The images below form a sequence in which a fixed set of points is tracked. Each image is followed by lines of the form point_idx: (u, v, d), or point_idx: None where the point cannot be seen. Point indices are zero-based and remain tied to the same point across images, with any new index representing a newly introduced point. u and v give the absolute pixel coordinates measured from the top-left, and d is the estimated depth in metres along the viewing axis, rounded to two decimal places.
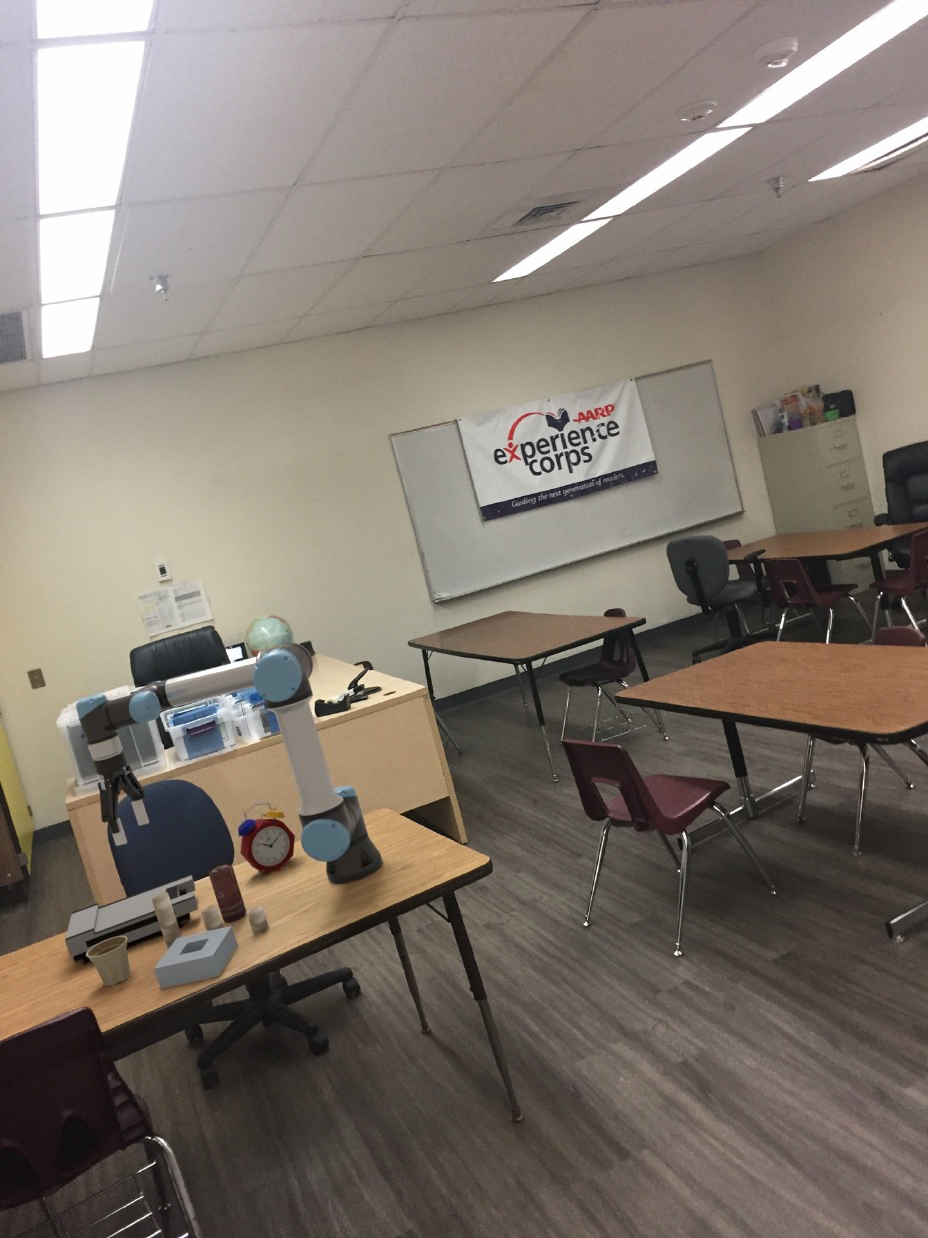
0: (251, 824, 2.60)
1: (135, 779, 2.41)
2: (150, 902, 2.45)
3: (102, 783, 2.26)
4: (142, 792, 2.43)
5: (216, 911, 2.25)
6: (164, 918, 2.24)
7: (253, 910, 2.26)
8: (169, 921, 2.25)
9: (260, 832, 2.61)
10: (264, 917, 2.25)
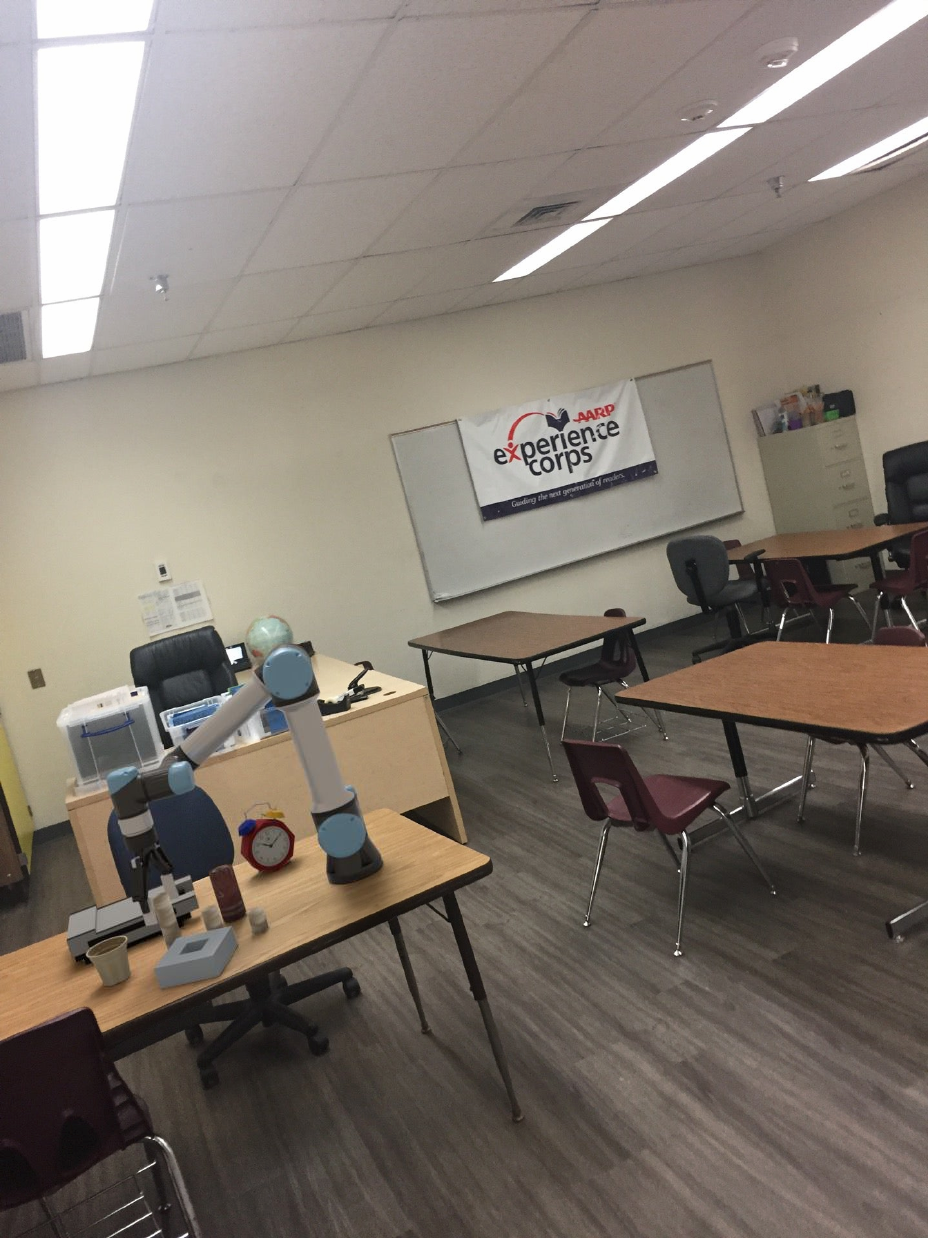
0: (251, 824, 2.60)
1: (165, 852, 2.32)
2: None
3: (133, 861, 2.18)
4: (172, 865, 2.34)
5: (216, 911, 2.25)
6: (164, 918, 2.24)
7: (253, 910, 2.26)
8: (169, 920, 2.25)
9: (260, 832, 2.61)
10: (264, 917, 2.25)
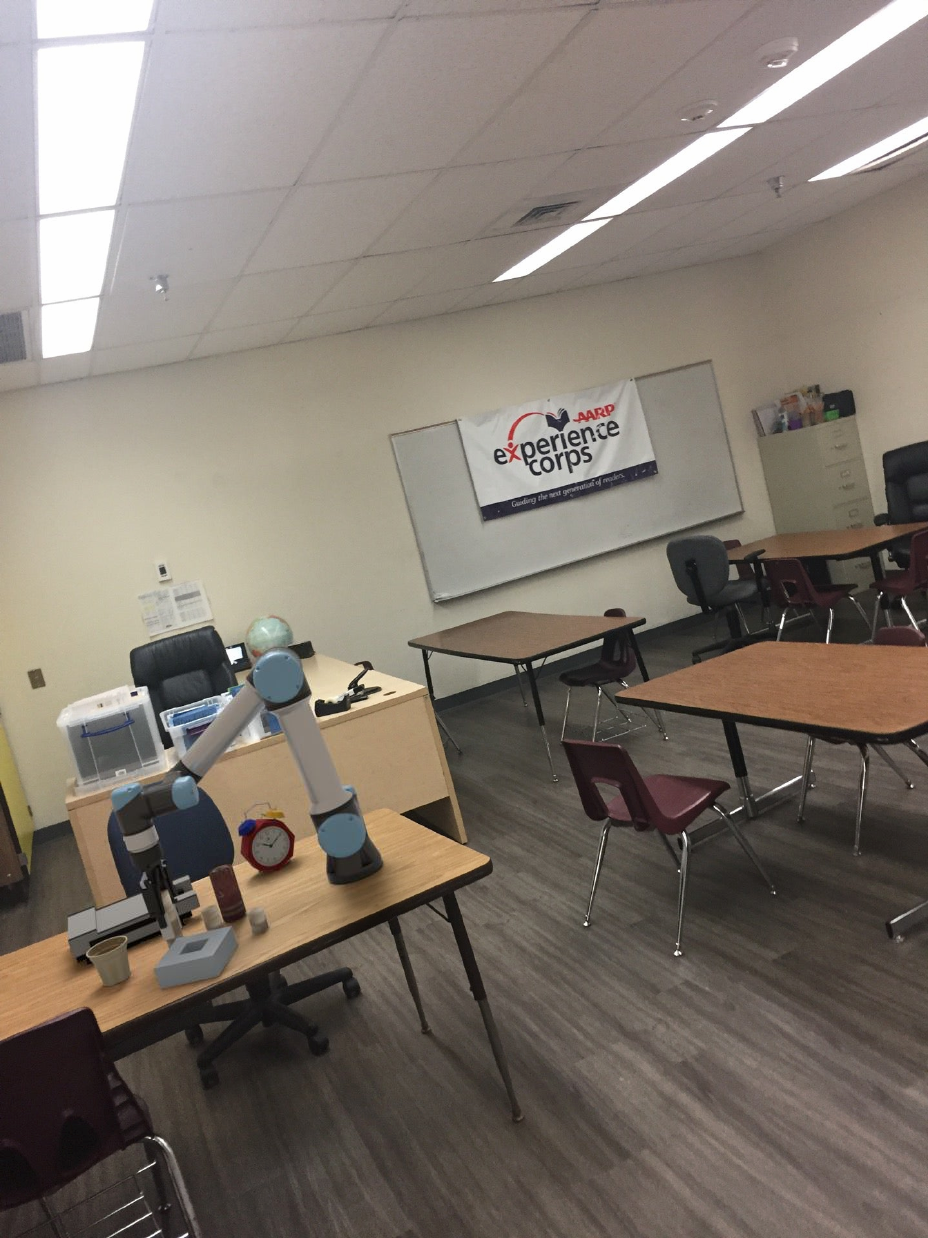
0: (251, 824, 2.60)
1: (170, 877, 2.31)
2: None
3: (142, 884, 2.18)
4: (174, 894, 2.30)
5: (216, 911, 2.25)
6: None
7: (253, 910, 2.26)
8: (169, 918, 2.25)
9: (260, 832, 2.61)
10: (264, 917, 2.25)
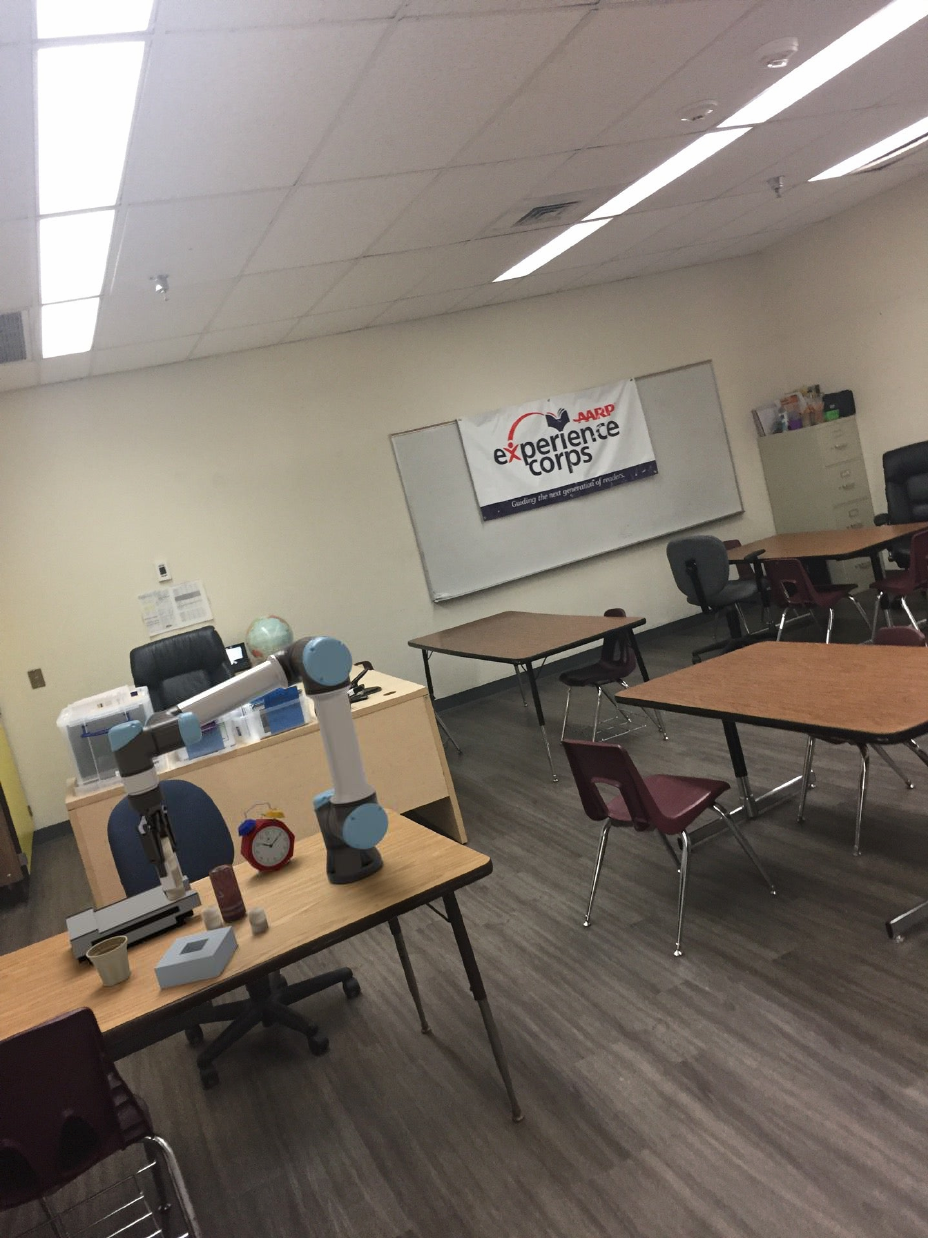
0: (251, 824, 2.60)
1: (171, 824, 2.15)
2: (150, 902, 2.45)
3: (140, 828, 2.03)
4: (175, 842, 2.15)
5: (216, 911, 2.25)
6: None
7: (253, 909, 2.26)
8: (169, 866, 2.09)
9: (260, 832, 2.61)
10: (264, 917, 2.25)
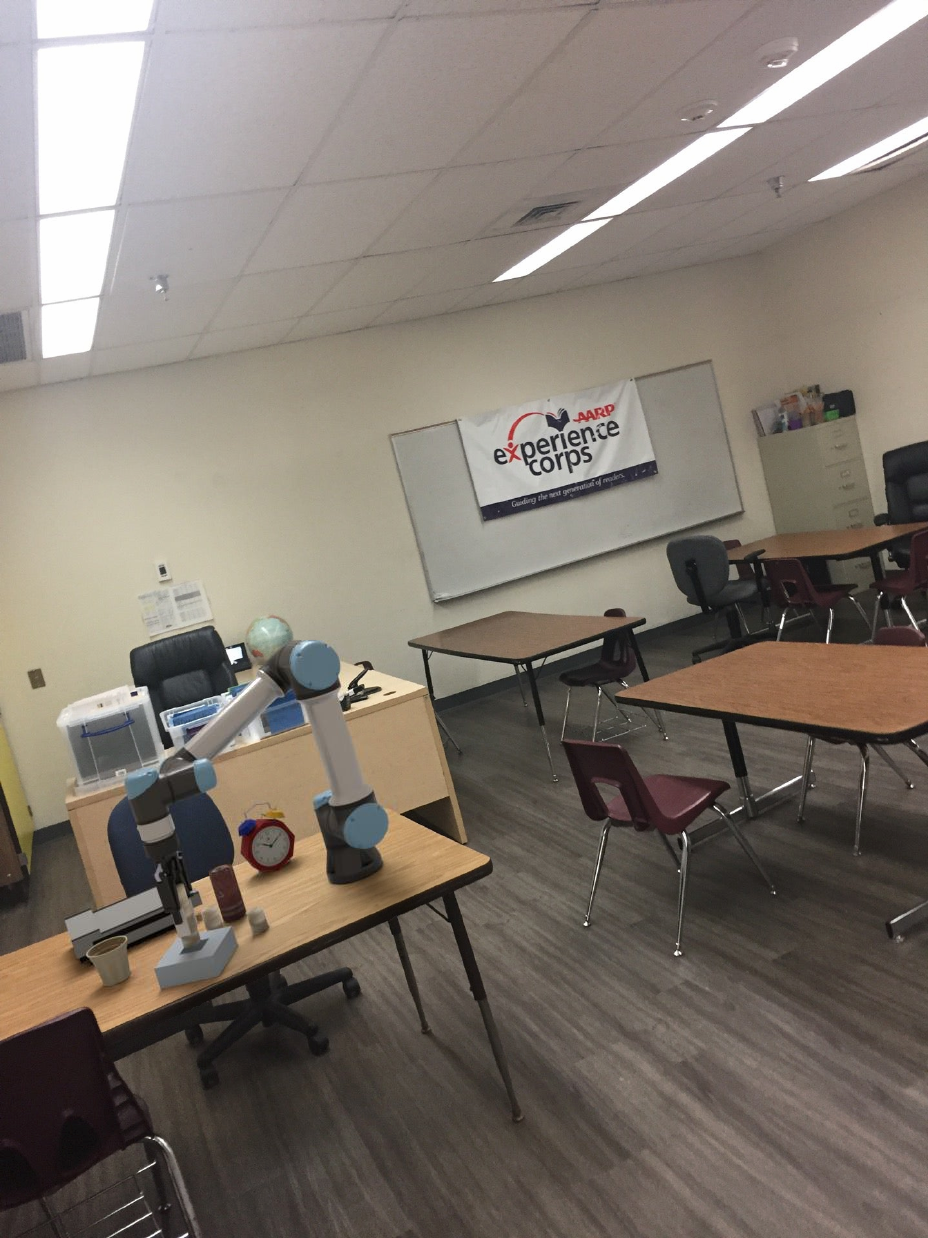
0: (251, 824, 2.60)
1: (185, 870, 2.16)
2: (150, 902, 2.45)
3: (157, 877, 2.04)
4: (190, 888, 2.16)
5: (216, 911, 2.25)
6: None
7: (253, 910, 2.26)
8: None
9: (260, 832, 2.61)
10: (263, 917, 2.24)
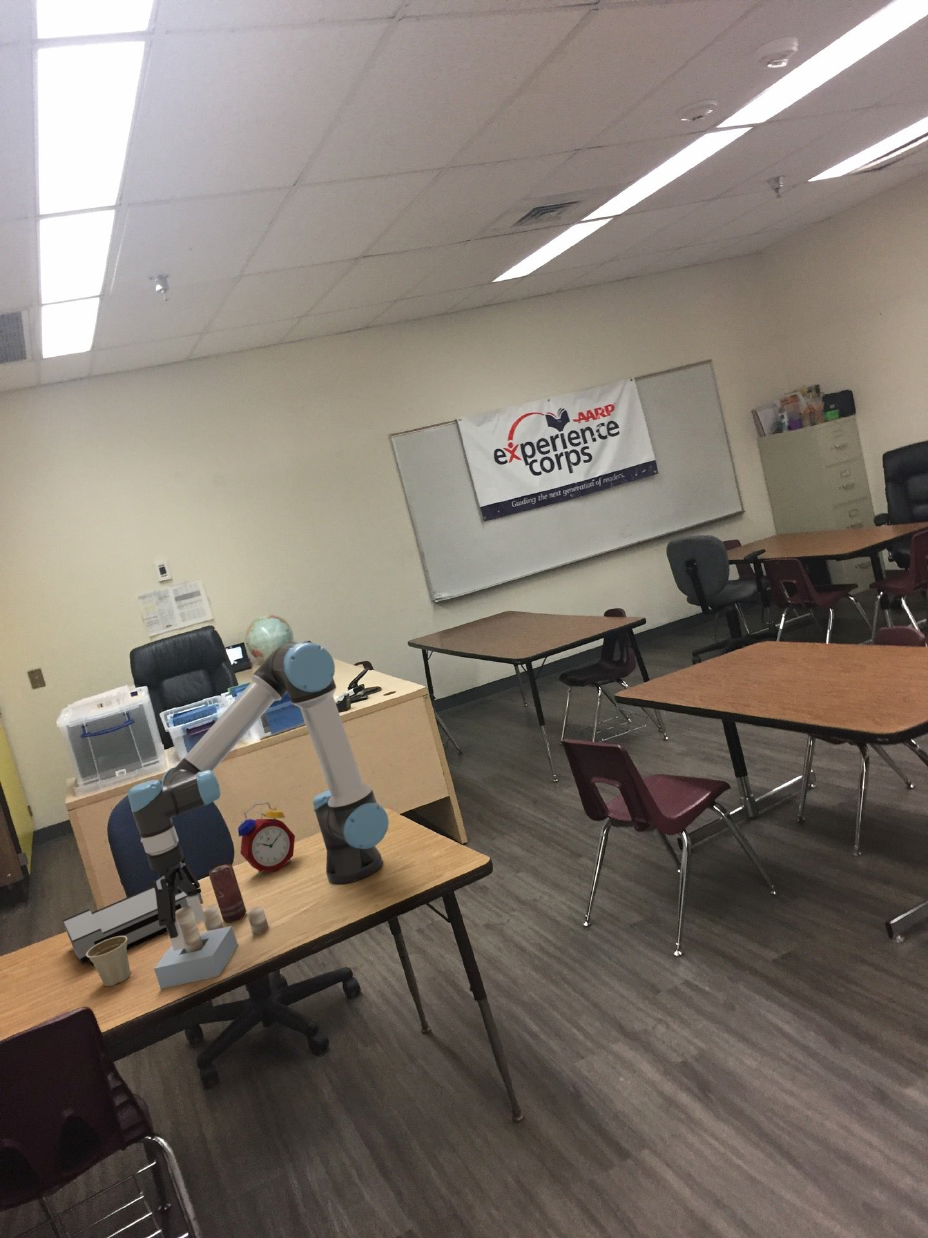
0: (251, 824, 2.60)
1: (190, 872, 2.18)
2: (150, 902, 2.46)
3: (158, 882, 2.04)
4: (197, 886, 2.20)
5: (216, 911, 2.25)
6: (188, 934, 2.11)
7: (253, 909, 2.26)
8: (193, 937, 2.11)
9: (260, 832, 2.61)
10: (264, 917, 2.24)
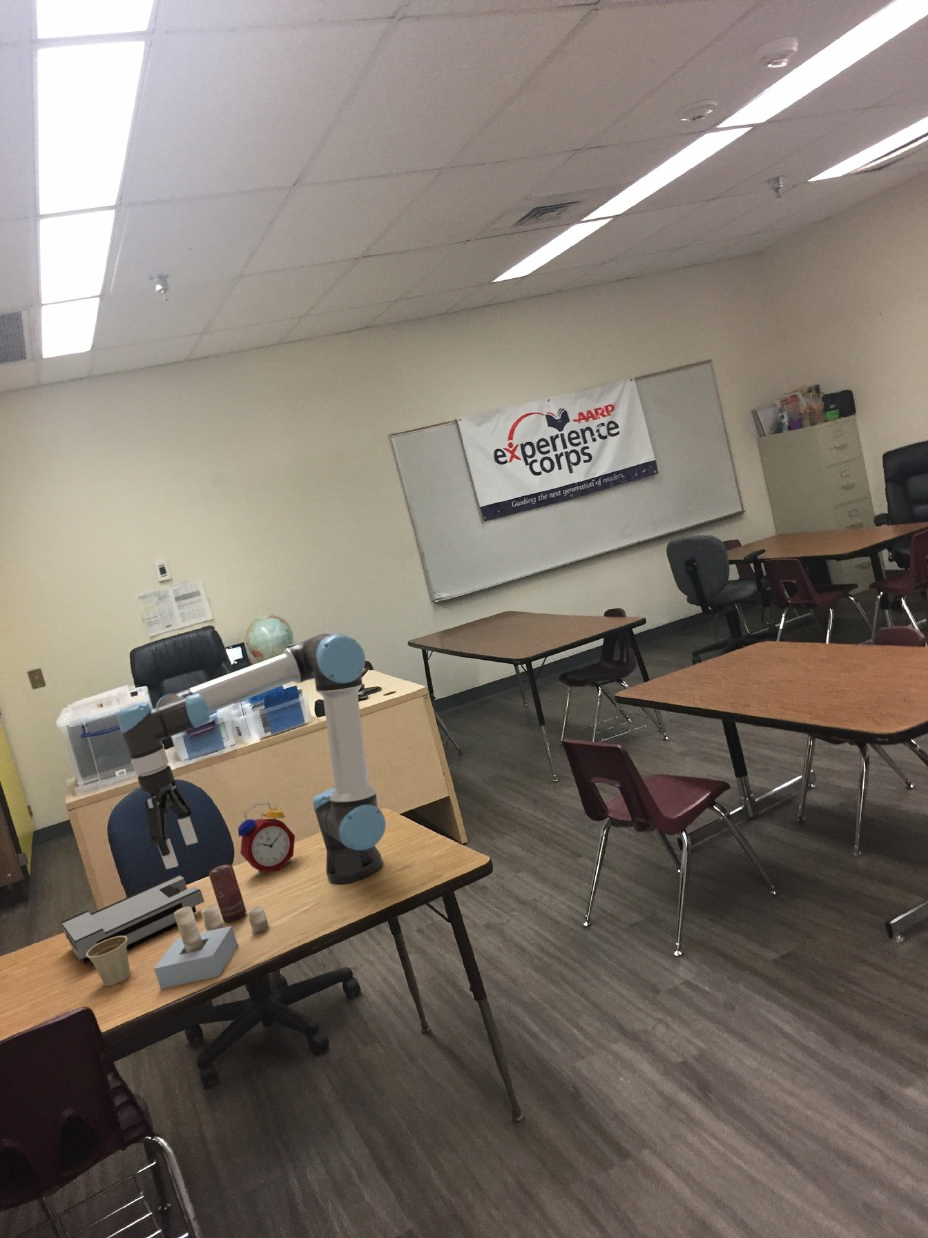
0: (251, 824, 2.60)
1: (181, 795, 2.20)
2: (149, 901, 2.46)
3: (149, 801, 2.06)
4: (189, 808, 2.22)
5: (216, 911, 2.25)
6: (188, 934, 2.11)
7: (254, 909, 2.26)
8: (193, 937, 2.11)
9: (260, 832, 2.61)
10: (264, 918, 2.24)
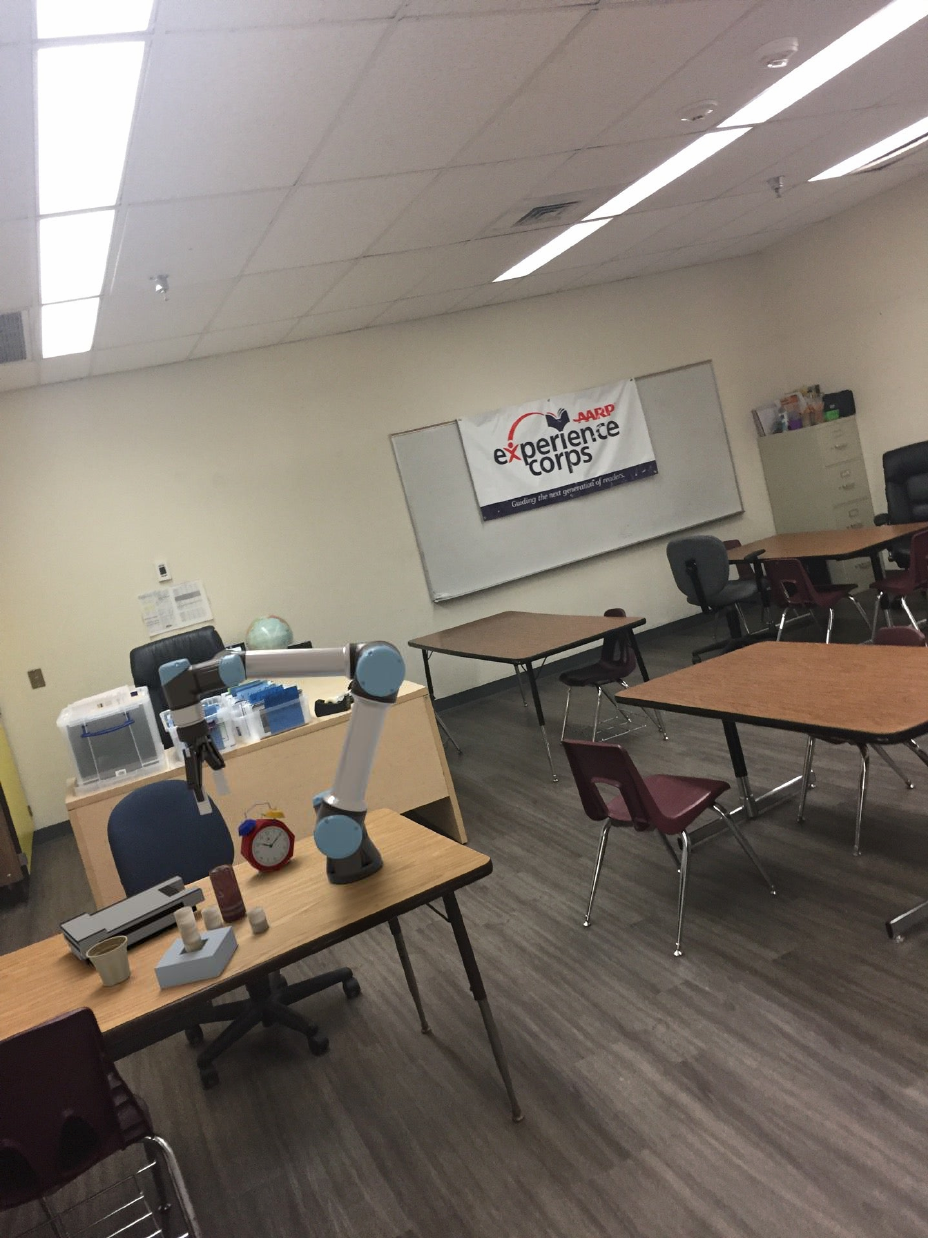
0: (251, 824, 2.60)
1: (215, 748, 2.33)
2: (149, 901, 2.46)
3: (187, 750, 2.19)
4: (222, 761, 2.35)
5: (216, 911, 2.25)
6: (188, 934, 2.11)
7: (254, 909, 2.26)
8: (193, 937, 2.11)
9: (260, 832, 2.61)
10: (262, 918, 2.24)
